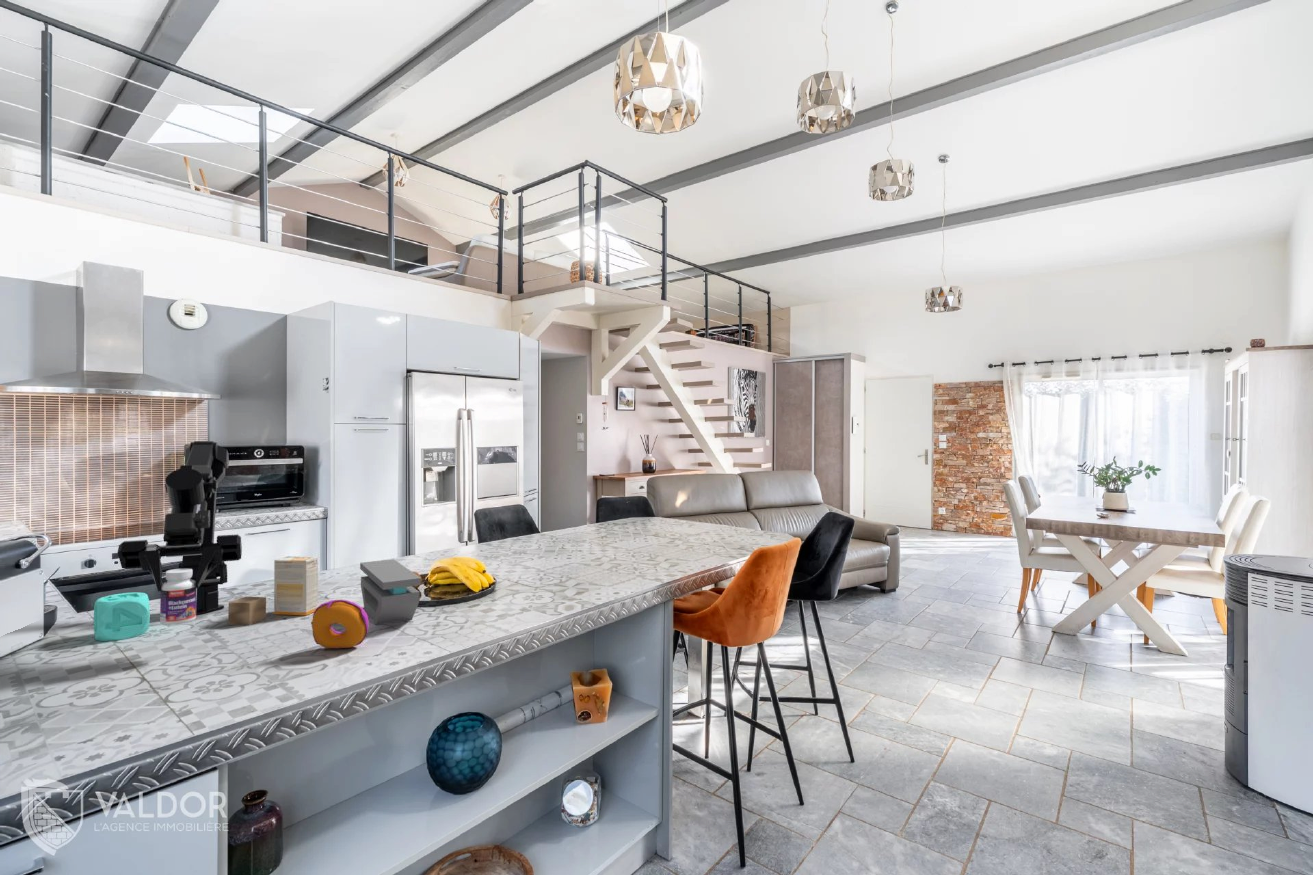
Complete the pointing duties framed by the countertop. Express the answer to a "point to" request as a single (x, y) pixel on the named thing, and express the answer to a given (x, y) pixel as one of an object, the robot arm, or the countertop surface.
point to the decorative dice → (121, 616)
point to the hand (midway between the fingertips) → (178, 588)
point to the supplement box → (295, 585)
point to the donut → (341, 614)
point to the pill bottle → (178, 597)
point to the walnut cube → (246, 610)
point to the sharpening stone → (389, 591)
